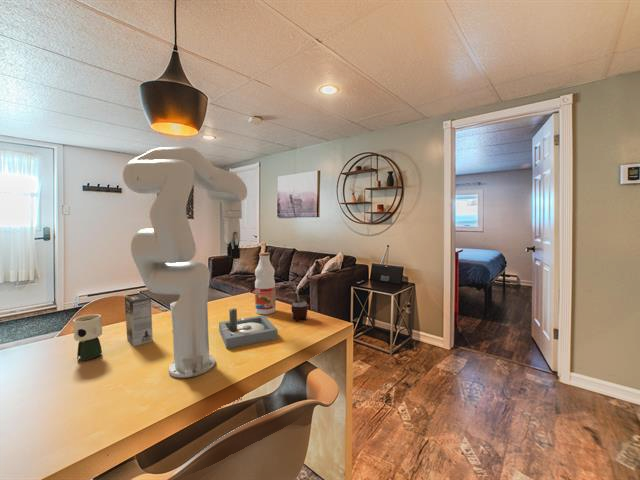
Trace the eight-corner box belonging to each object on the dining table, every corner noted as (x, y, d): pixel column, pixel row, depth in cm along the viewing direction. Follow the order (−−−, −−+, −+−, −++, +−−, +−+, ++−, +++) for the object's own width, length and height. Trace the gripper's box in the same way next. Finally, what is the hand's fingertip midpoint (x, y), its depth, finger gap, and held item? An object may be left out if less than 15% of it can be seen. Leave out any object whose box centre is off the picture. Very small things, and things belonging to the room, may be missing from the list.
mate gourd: (304, 323, 123) (303, 287, 122) (287, 321, 126) (286, 286, 125) (310, 317, 130) (310, 284, 129) (294, 315, 133) (293, 283, 132)
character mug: (66, 359, 92) (63, 319, 91) (90, 350, 99) (88, 312, 98) (89, 365, 88) (86, 323, 88) (113, 355, 95) (110, 316, 94)
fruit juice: (279, 311, 139) (278, 252, 137) (264, 316, 132) (263, 254, 130) (266, 307, 145) (265, 251, 143) (251, 312, 138) (249, 253, 136)
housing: (277, 338, 107) (277, 329, 107) (226, 349, 99) (226, 338, 99) (264, 323, 123) (263, 314, 123) (219, 331, 115) (218, 321, 115)
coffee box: (126, 339, 107) (123, 296, 106) (145, 334, 112) (143, 293, 111) (133, 347, 101) (131, 301, 100) (154, 341, 106) (151, 297, 105)
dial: (259, 323, 119) (258, 301, 119) (268, 334, 108) (267, 309, 107) (227, 328, 114) (226, 305, 113) (233, 340, 102) (232, 315, 102)
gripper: (219, 215, 125) (220, 255, 126) (226, 214, 109) (227, 260, 110) (237, 215, 128) (238, 254, 129) (246, 214, 112) (247, 259, 114)
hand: (233, 257), depth 120 cm, fingers open, 9 cm apart
